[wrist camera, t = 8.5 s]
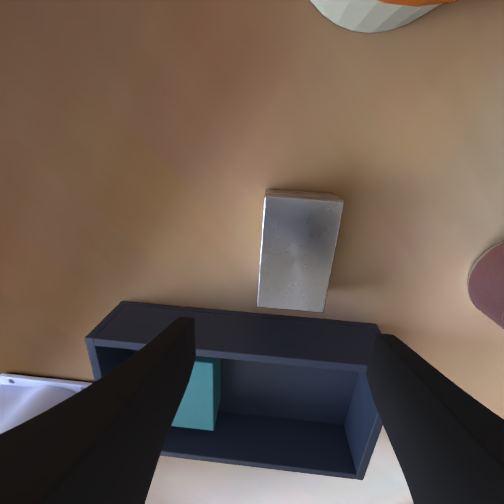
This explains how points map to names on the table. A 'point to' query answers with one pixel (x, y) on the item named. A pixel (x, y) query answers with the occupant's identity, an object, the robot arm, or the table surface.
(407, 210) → the table surface
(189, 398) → the block
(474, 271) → the beverage can
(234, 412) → the box
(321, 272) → the silver metal block
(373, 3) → the lidded jar
